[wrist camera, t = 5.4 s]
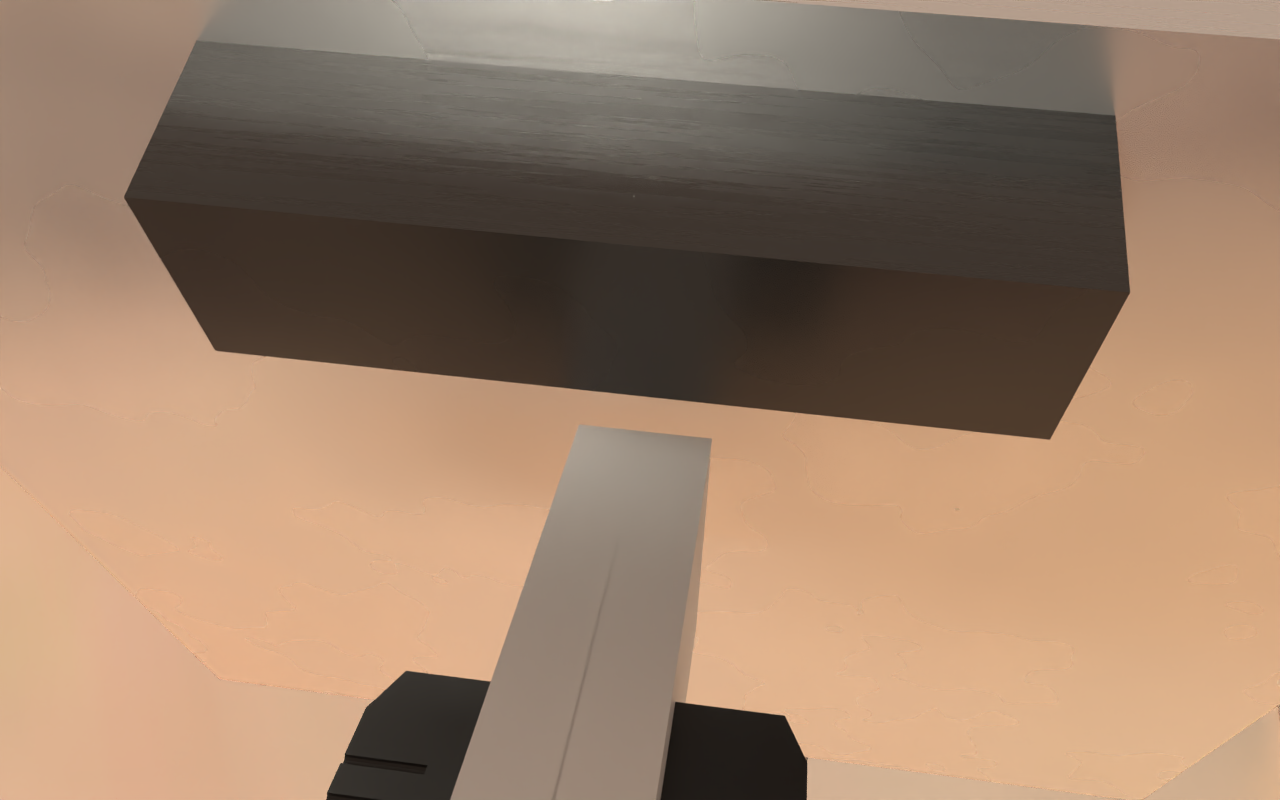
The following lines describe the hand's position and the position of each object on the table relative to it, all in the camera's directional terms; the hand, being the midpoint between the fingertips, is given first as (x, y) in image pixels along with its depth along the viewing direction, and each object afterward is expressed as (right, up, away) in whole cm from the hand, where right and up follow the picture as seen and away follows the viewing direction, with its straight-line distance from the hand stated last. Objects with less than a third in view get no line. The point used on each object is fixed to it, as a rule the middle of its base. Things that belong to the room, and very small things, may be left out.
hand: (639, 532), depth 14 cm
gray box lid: (0, 0, +4) cm, 4 cm away
